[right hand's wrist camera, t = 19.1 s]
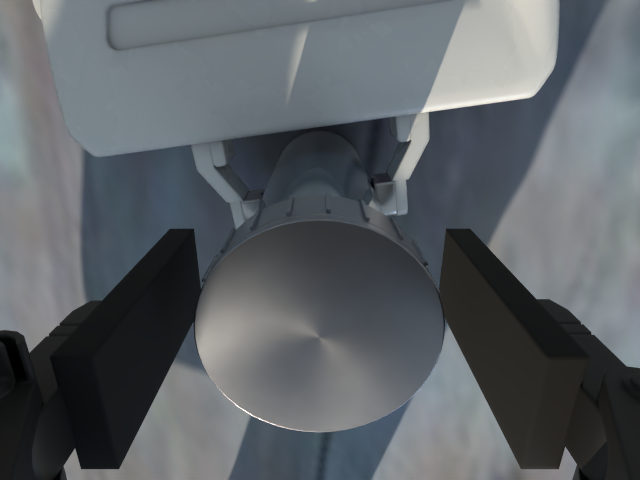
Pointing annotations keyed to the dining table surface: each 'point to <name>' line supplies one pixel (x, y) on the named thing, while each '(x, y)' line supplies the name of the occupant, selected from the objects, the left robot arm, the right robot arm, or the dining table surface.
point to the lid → (319, 315)
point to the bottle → (319, 171)
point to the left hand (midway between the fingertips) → (322, 221)
